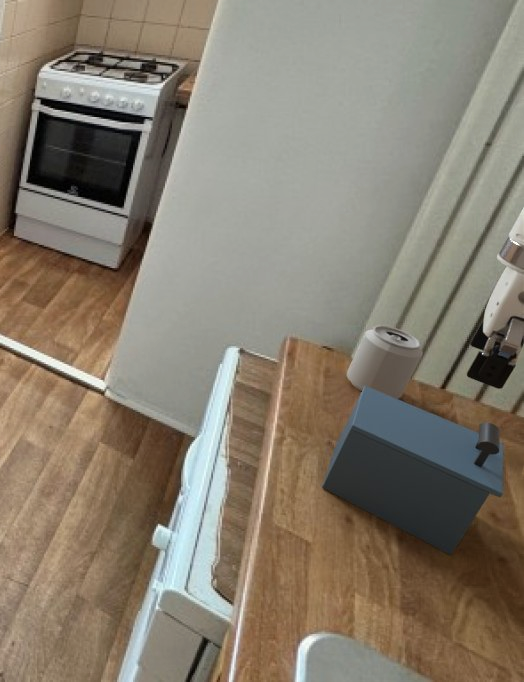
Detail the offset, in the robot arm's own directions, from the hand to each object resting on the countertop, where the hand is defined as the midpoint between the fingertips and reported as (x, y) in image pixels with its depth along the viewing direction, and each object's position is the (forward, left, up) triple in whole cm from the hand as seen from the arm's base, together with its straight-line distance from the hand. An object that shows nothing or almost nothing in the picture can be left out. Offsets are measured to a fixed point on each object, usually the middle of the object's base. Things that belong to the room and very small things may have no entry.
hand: (484, 365), depth 83 cm
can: (-6, -24, -24) cm, 34 cm away
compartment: (+5, +3, -23) cm, 24 cm away
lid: (+5, +3, -12) cm, 13 cm away
